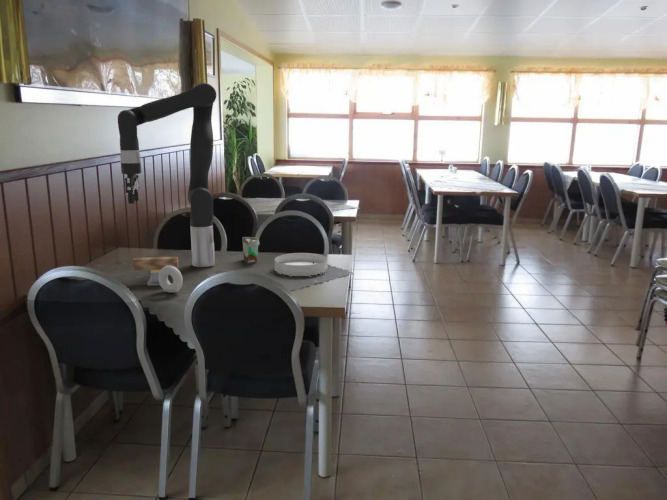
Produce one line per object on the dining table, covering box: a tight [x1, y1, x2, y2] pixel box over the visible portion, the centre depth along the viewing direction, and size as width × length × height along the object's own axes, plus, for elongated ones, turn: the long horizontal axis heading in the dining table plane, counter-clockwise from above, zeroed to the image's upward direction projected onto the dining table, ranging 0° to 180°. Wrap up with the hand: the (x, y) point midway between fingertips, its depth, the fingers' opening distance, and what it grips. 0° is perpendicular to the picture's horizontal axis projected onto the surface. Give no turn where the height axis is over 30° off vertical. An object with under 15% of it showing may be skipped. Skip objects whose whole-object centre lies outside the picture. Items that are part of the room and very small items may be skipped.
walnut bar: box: [132, 256, 180, 271], centre depth 209 cm, size 16×4×4 cm, turn 98°
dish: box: [274, 252, 328, 275], centre depth 230 cm, size 22×22×5 cm
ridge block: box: [146, 269, 161, 286], centre depth 210 cm, size 6×8×6 cm
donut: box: [158, 266, 184, 294], centre depth 197 cm, size 10×4×10 cm, turn 66°
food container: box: [241, 236, 260, 265], centre depth 243 cm, size 12×6×10 cm, turn 22°
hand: (133, 202), depth 223 cm, fingers open, 8 cm apart
